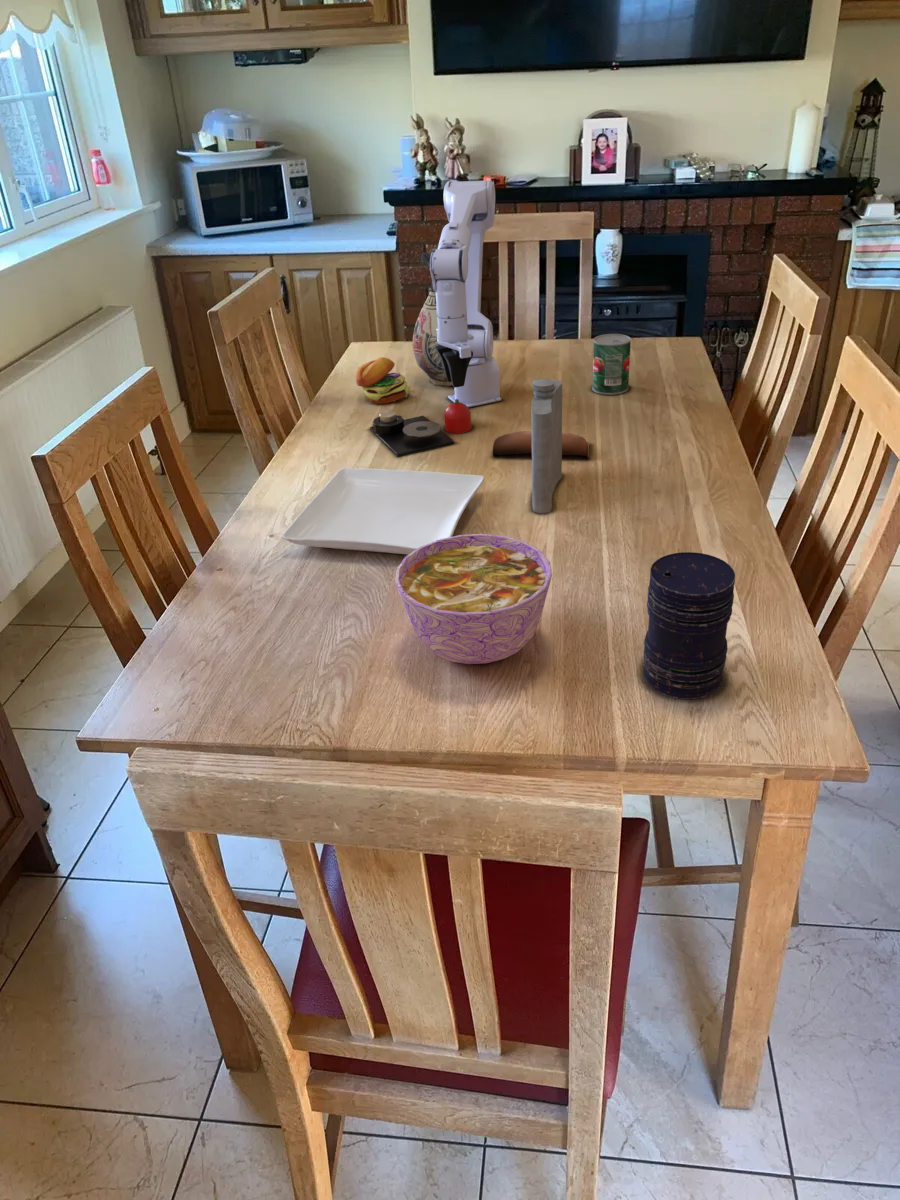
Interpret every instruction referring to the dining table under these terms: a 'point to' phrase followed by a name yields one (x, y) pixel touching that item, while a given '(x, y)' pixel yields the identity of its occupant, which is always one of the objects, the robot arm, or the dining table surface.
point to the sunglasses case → (523, 444)
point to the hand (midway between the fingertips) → (455, 383)
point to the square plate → (384, 510)
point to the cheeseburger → (381, 381)
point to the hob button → (387, 417)
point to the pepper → (457, 418)
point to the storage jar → (687, 624)
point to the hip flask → (546, 442)
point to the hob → (407, 444)
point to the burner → (421, 429)
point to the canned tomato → (611, 364)
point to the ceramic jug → (429, 336)
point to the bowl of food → (474, 595)
